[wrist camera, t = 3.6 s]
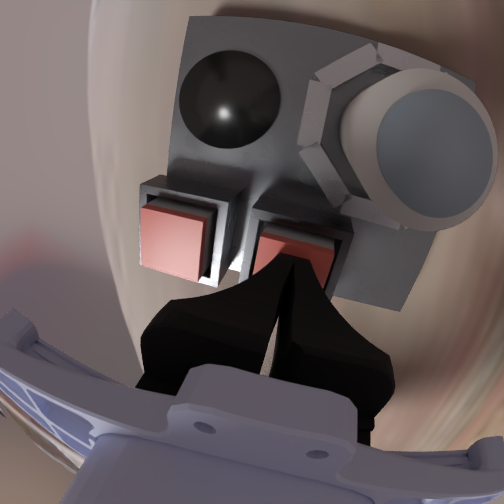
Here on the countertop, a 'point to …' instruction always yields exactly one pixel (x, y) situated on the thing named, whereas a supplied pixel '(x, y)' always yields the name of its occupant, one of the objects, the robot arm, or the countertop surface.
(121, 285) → the countertop surface
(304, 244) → the plunger
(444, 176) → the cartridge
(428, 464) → the robot arm
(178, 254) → the plunger
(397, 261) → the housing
